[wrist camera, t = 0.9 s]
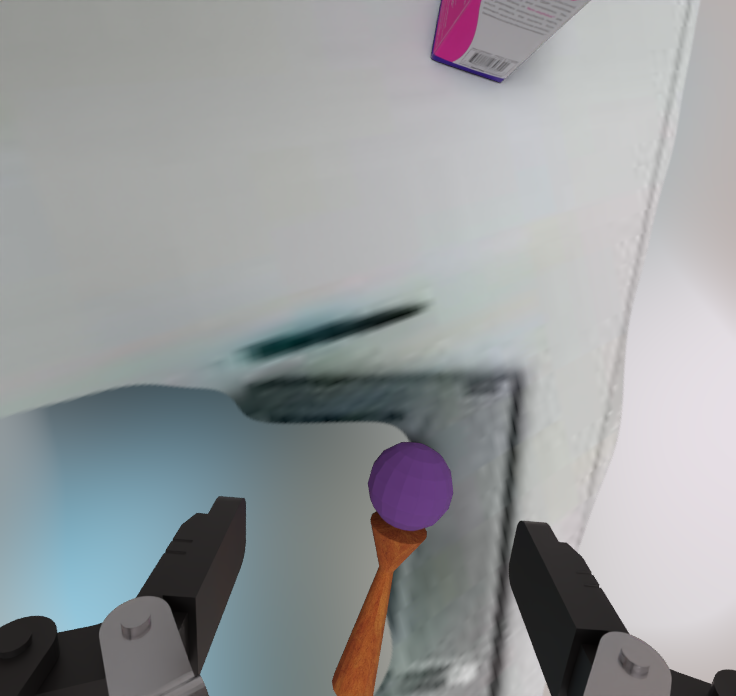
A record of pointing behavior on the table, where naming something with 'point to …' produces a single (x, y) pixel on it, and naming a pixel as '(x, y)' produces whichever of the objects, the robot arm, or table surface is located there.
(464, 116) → the table surface
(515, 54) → the supplement box
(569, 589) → the robot arm
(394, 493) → the kendama
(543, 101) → the table surface
